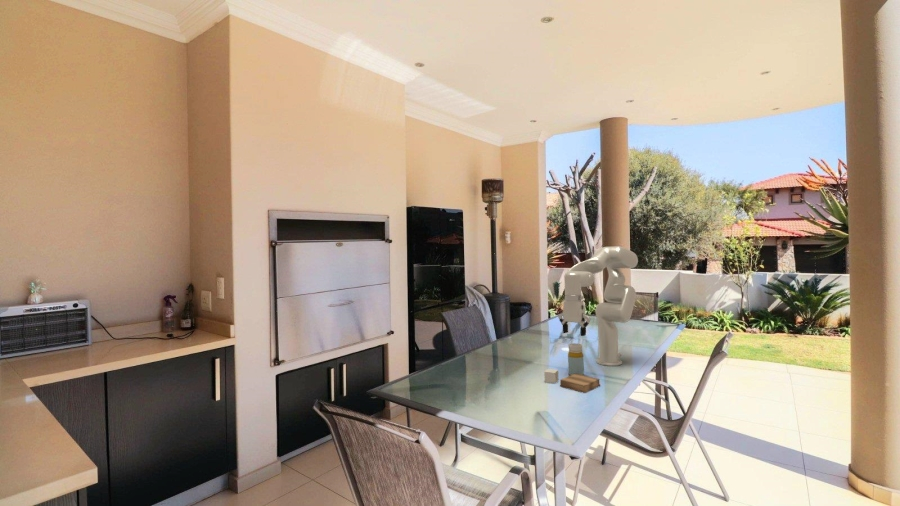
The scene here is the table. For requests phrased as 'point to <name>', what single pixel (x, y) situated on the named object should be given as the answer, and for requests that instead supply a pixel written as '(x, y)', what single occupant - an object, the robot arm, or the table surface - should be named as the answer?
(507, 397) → the table surface
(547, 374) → the stone cube
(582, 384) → the plinth
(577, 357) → the bottle
